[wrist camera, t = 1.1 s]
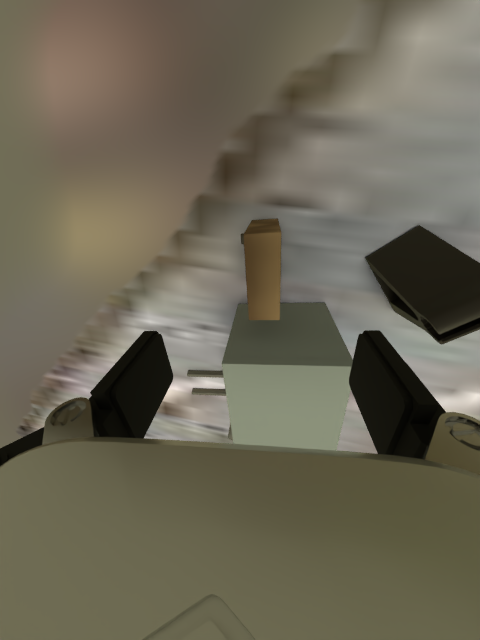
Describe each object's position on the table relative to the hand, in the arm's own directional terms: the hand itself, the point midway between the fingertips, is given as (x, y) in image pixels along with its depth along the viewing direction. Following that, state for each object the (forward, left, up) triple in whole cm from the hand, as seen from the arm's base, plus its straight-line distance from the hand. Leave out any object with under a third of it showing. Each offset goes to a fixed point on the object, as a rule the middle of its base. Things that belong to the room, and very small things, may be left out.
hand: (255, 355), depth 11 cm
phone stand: (-17, +3, -21) cm, 27 cm away
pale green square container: (+3, +16, -21) cm, 26 cm away
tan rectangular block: (0, 0, -21) cm, 21 cm away
